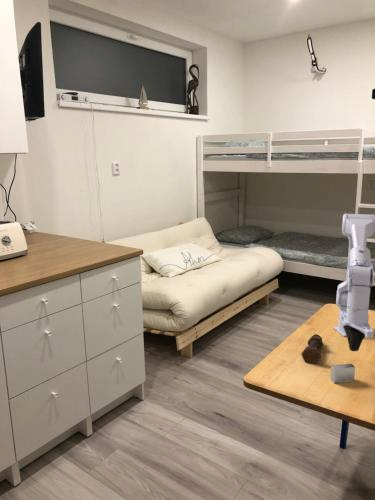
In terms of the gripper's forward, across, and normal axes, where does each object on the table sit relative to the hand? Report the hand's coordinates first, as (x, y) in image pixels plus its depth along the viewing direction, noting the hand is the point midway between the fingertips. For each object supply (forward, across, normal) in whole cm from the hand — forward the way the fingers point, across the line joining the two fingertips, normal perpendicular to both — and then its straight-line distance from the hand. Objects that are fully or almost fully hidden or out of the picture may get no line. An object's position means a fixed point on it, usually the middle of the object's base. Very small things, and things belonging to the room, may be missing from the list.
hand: (353, 350), depth 120 cm
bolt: (+7, -12, -6) cm, 15 cm away
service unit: (+6, +5, -6) cm, 10 cm away
